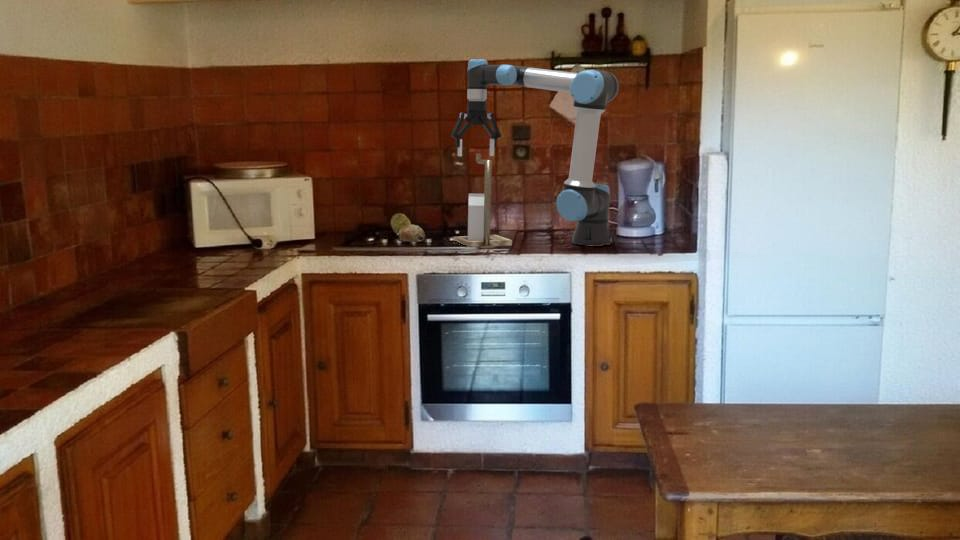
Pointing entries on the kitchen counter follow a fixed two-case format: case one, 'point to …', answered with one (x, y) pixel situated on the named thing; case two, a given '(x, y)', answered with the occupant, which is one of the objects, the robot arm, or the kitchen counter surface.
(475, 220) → the milk carton
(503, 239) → the shelf board
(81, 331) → the kitchen counter surface
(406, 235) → the bread roll
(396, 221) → the green oval lump
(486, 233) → the hook post
